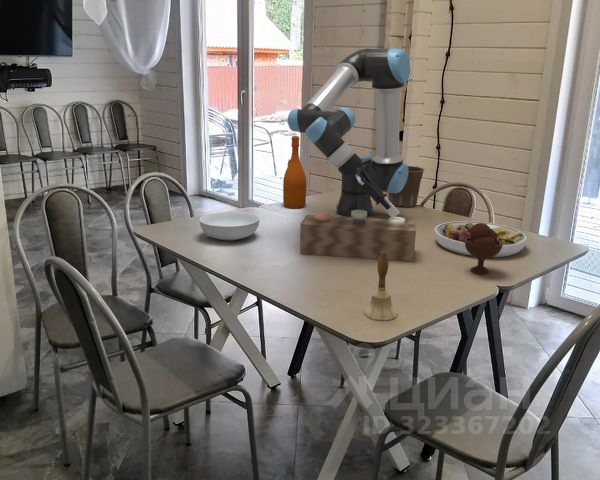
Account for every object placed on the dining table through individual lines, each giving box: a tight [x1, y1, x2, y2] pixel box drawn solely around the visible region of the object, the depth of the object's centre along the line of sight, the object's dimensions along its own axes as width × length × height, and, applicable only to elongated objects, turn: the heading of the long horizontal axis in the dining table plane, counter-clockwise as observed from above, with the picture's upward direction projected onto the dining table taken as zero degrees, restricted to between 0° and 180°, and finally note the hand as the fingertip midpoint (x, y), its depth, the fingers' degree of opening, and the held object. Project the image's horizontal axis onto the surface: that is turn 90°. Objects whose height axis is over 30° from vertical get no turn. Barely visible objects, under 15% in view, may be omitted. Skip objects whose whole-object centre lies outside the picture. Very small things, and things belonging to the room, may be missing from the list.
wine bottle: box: [282, 135, 307, 209], centre depth 241 cm, size 10×10×30 cm
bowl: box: [434, 220, 527, 258], centre depth 195 cm, size 30×30×8 cm
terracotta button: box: [313, 211, 331, 222], centre depth 186 cm, size 5×5×6 cm
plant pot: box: [388, 165, 425, 208], centre depth 250 cm, size 16×16×16 cm
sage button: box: [351, 210, 368, 224], centre depth 184 cm, size 5×5×6 cm
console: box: [299, 214, 417, 263], centre depth 185 cm, size 36×12×10 cm, turn 80°
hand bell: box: [363, 252, 398, 322], centre depth 139 cm, size 8×8×16 cm
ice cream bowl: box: [465, 223, 503, 276], centre depth 169 cm, size 11×11×15 cm
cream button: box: [388, 216, 406, 227], centre depth 182 cm, size 5×5×6 cm
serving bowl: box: [198, 211, 260, 242], centre depth 200 cm, size 21×21×7 cm
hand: (395, 215), depth 181 cm, fingers closed
